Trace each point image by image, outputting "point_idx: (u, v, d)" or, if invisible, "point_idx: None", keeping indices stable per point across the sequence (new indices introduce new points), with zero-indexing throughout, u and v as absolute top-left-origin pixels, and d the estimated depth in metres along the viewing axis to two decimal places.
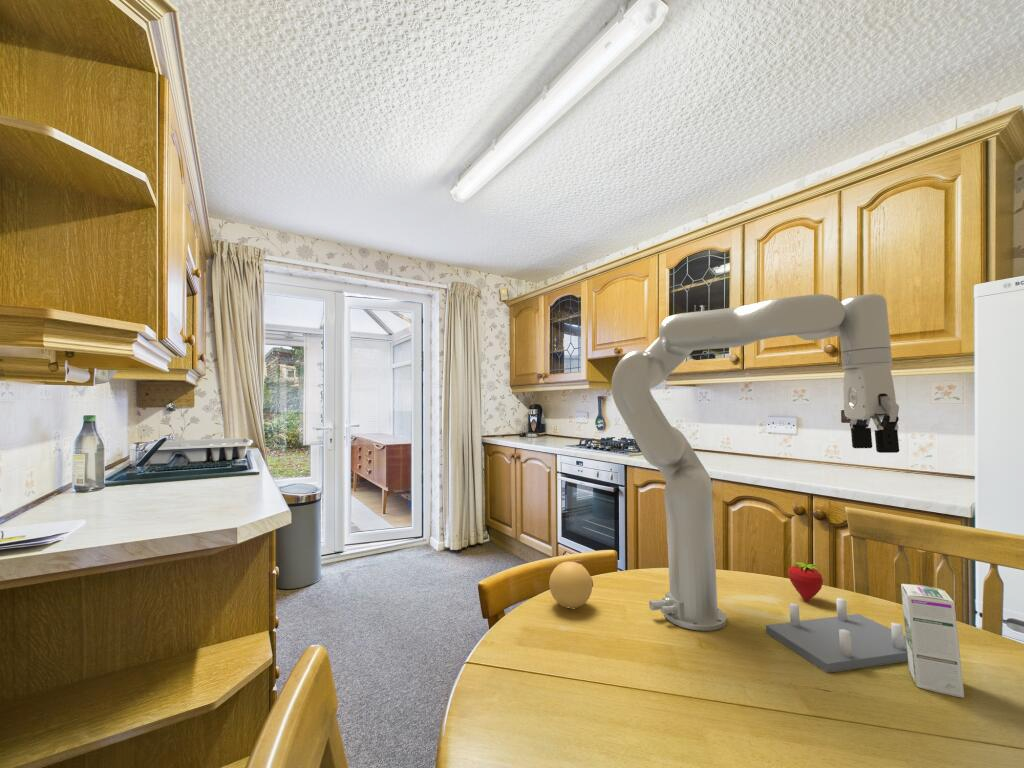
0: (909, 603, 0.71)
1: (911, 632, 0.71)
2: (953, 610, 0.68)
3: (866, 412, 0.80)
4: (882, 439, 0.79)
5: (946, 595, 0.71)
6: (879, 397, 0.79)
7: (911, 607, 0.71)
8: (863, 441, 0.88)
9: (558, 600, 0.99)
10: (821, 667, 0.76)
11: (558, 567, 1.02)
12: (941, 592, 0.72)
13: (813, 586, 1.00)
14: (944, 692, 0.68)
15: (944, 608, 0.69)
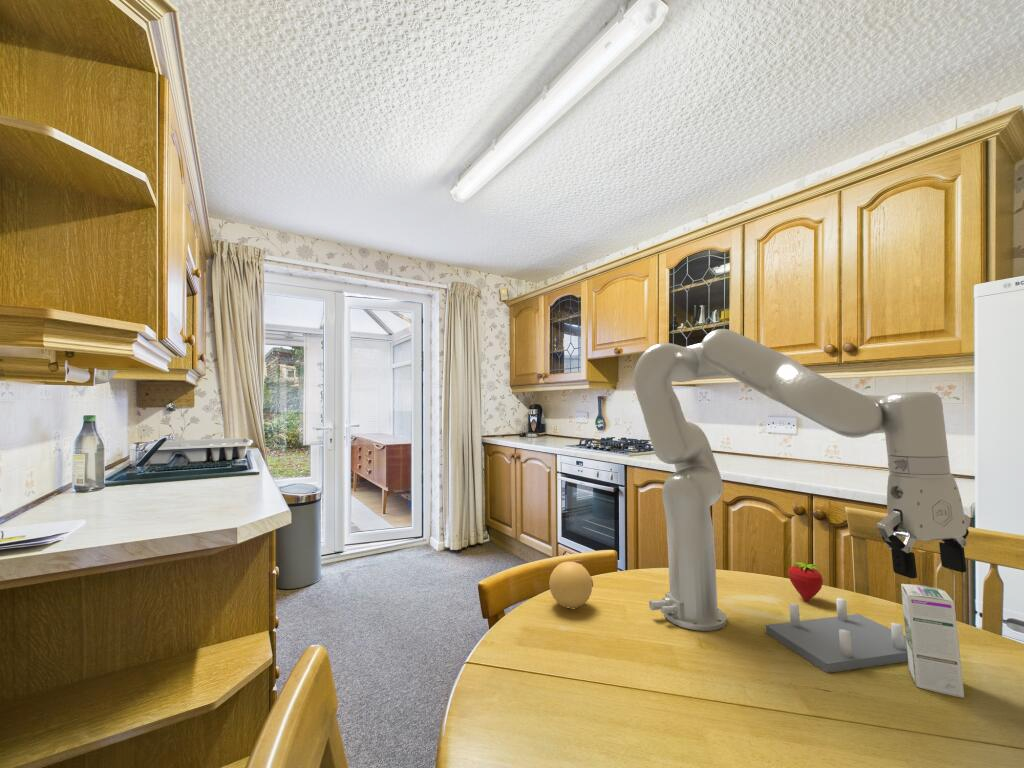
0: (909, 603, 0.71)
1: (911, 632, 0.71)
2: (953, 610, 0.68)
3: (965, 528, 0.71)
4: None
5: (946, 595, 0.71)
6: None
7: (911, 607, 0.71)
8: None
9: (558, 600, 0.99)
10: (821, 667, 0.76)
11: (558, 567, 1.02)
12: (941, 592, 0.72)
13: (813, 586, 1.00)
14: (944, 692, 0.68)
15: (944, 608, 0.69)
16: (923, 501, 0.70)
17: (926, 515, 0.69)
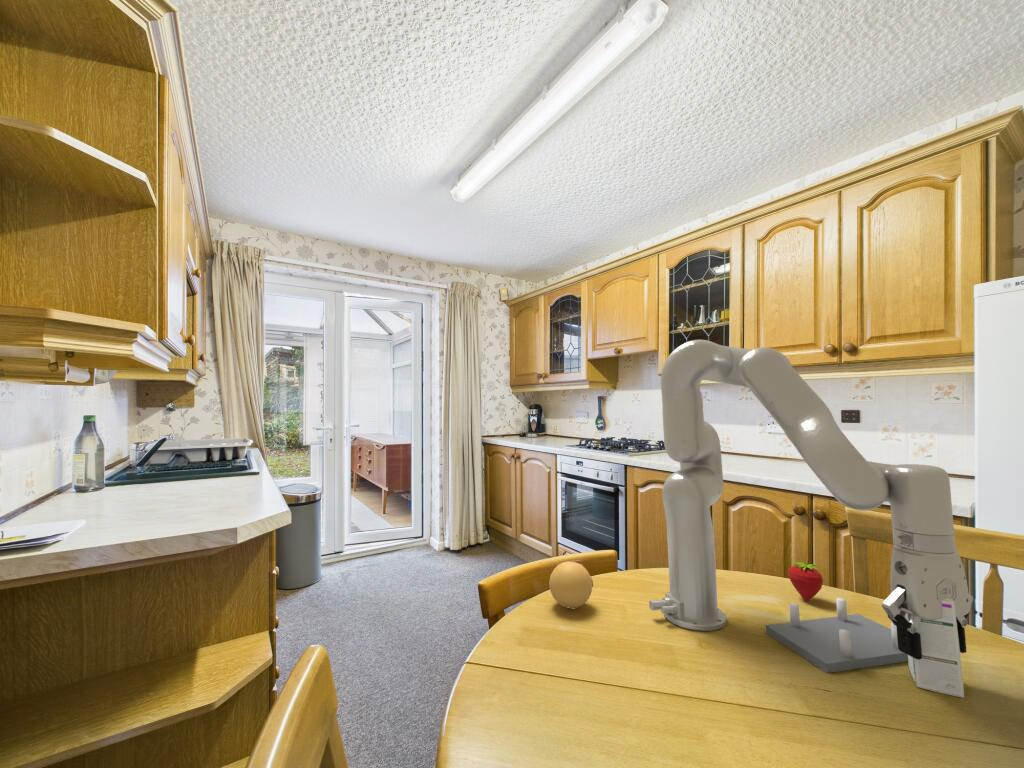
0: None
1: None
2: (953, 610, 0.68)
3: (969, 607, 0.70)
4: None
5: None
6: None
7: None
8: None
9: (558, 600, 0.99)
10: (821, 667, 0.76)
11: (558, 567, 1.02)
12: None
13: (813, 586, 1.00)
14: (944, 692, 0.68)
15: (944, 608, 0.69)
16: (927, 580, 0.69)
17: (930, 594, 0.69)
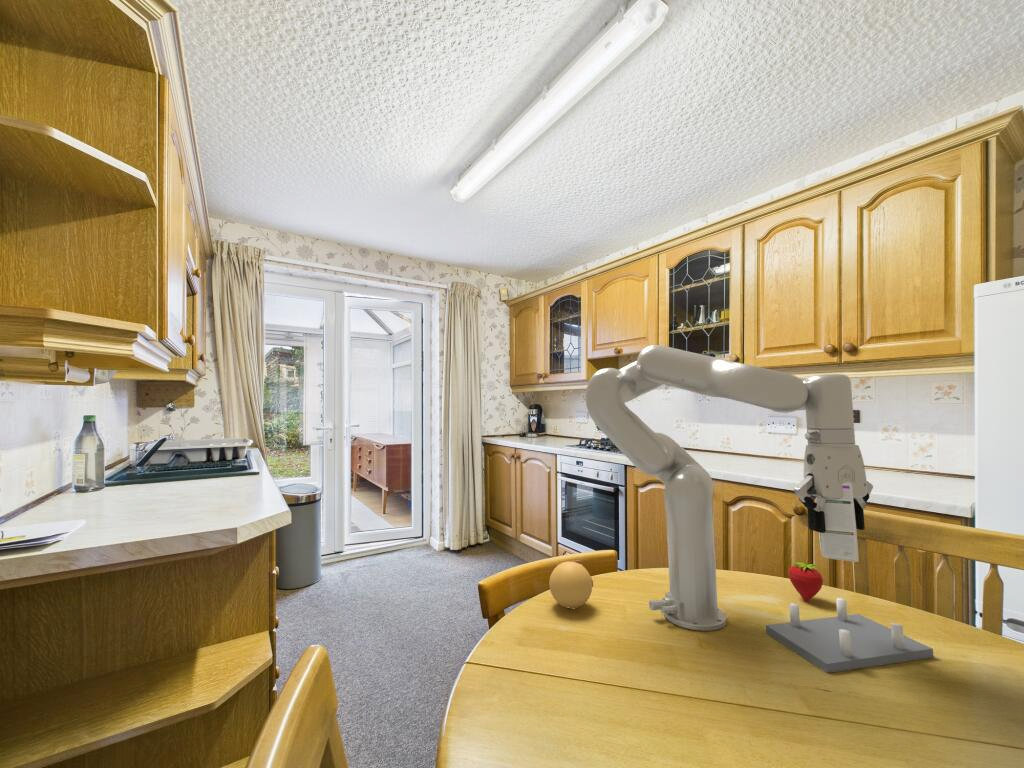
0: None
1: None
2: (851, 490, 0.82)
3: (866, 490, 0.84)
4: None
5: None
6: None
7: None
8: None
9: (558, 600, 0.99)
10: (821, 667, 0.76)
11: (558, 567, 1.02)
12: None
13: (813, 586, 1.00)
14: (843, 559, 0.82)
15: (844, 489, 0.82)
16: (830, 466, 0.82)
17: (832, 478, 0.82)
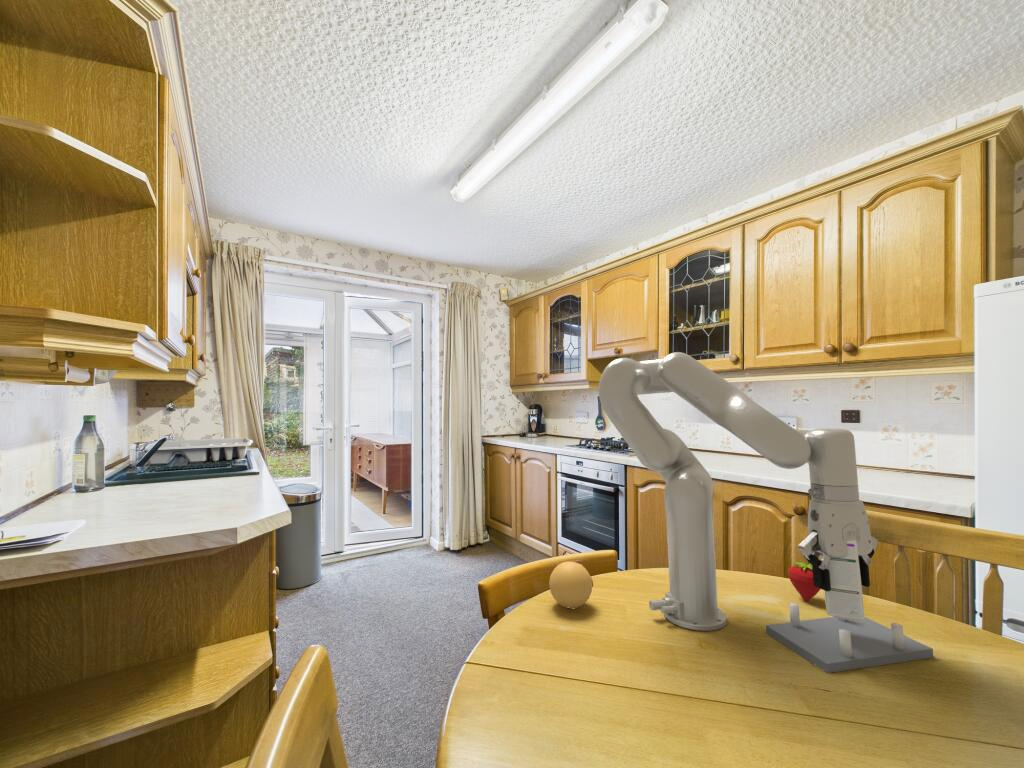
0: None
1: None
2: (856, 548, 0.81)
3: (871, 547, 0.83)
4: None
5: None
6: None
7: None
8: None
9: (558, 600, 0.99)
10: (821, 667, 0.76)
11: (558, 567, 1.02)
12: None
13: (813, 586, 1.00)
14: (849, 618, 0.81)
15: (849, 547, 0.81)
16: (834, 524, 0.82)
17: (836, 536, 0.81)
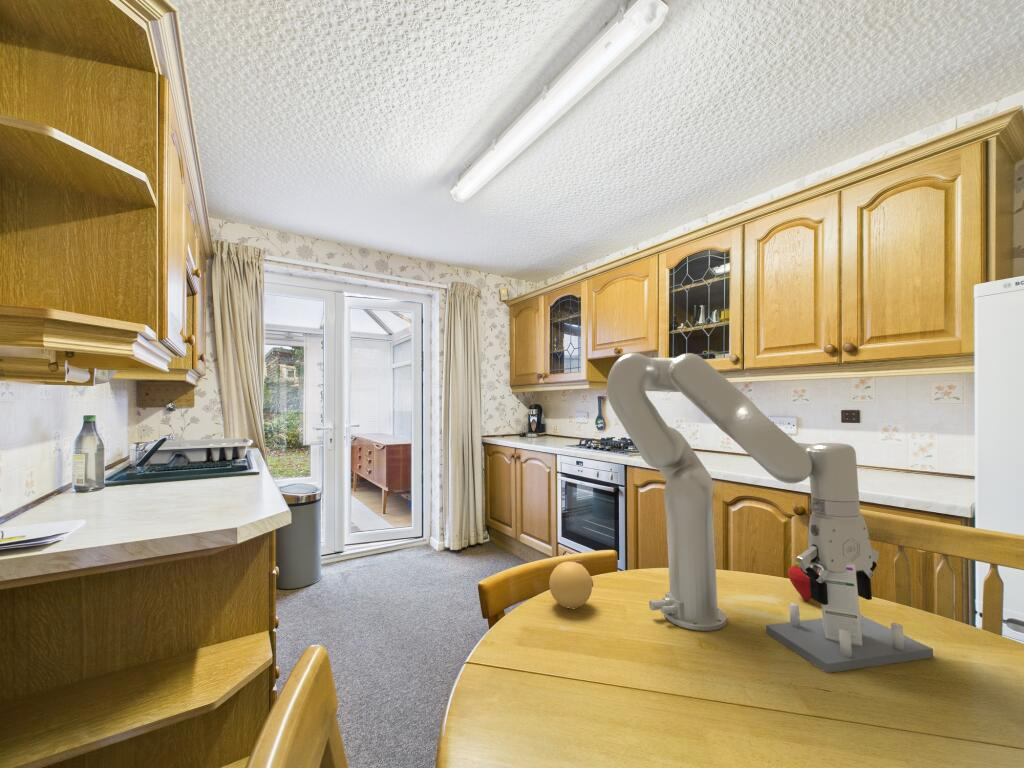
0: None
1: None
2: (854, 572, 0.81)
3: (872, 562, 0.83)
4: None
5: None
6: None
7: None
8: None
9: (558, 600, 0.99)
10: (821, 667, 0.76)
11: (558, 567, 1.02)
12: None
13: None
14: None
15: (847, 571, 0.81)
16: (835, 539, 0.81)
17: (837, 551, 0.81)
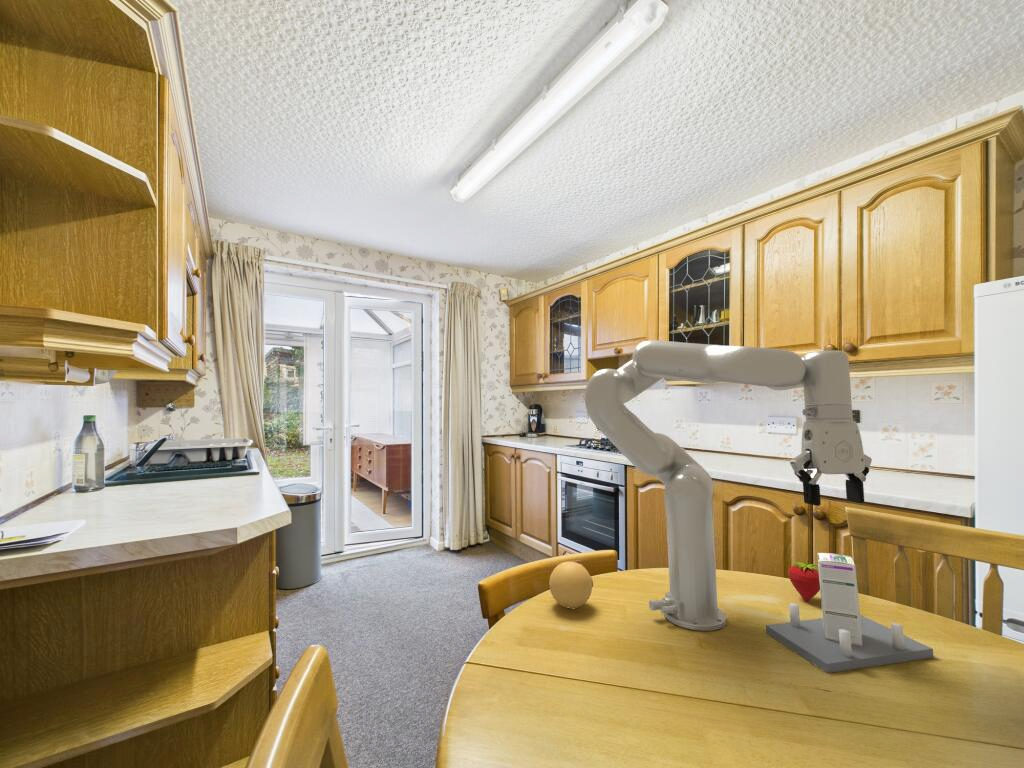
0: (820, 567, 0.83)
1: (821, 592, 0.83)
2: (854, 572, 0.81)
3: (864, 465, 0.84)
4: None
5: (851, 560, 0.83)
6: None
7: (821, 571, 0.83)
8: None
9: (558, 600, 0.99)
10: (821, 667, 0.76)
11: (558, 567, 1.02)
12: (847, 558, 0.84)
13: (813, 586, 0.99)
14: None
15: (847, 571, 0.81)
16: (828, 441, 0.83)
17: (829, 453, 0.83)
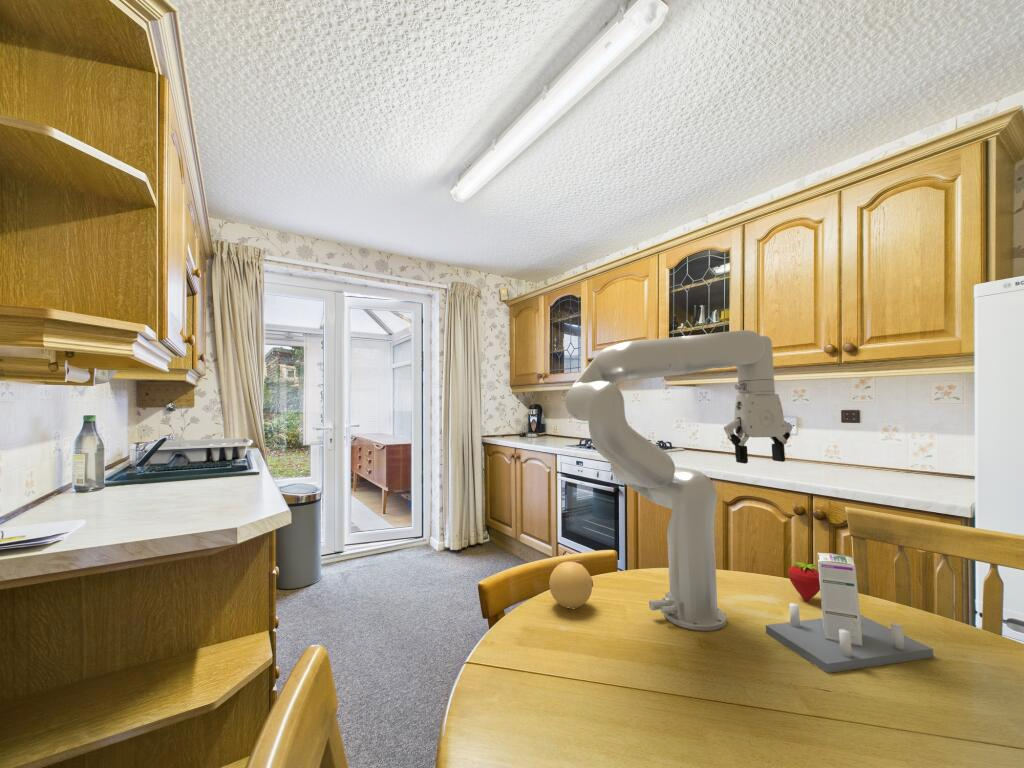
0: (820, 567, 0.83)
1: (821, 592, 0.83)
2: (854, 572, 0.81)
3: (784, 430, 1.02)
4: None
5: (851, 560, 0.83)
6: None
7: (821, 571, 0.83)
8: None
9: (558, 600, 0.99)
10: (821, 667, 0.76)
11: (558, 567, 1.02)
12: (847, 558, 0.84)
13: (813, 586, 1.00)
14: None
15: (847, 571, 0.81)
16: (753, 410, 1.01)
17: (755, 419, 1.00)
